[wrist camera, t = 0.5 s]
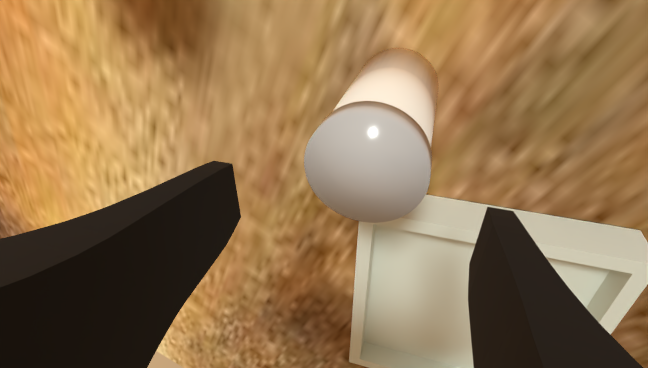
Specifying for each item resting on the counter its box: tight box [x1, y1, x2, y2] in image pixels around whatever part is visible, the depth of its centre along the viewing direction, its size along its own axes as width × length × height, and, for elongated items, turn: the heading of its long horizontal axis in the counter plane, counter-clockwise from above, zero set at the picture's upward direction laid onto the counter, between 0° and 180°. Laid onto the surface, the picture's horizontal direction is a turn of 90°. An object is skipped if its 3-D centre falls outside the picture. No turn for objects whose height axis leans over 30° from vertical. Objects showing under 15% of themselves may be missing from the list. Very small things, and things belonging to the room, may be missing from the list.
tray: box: [349, 194, 648, 368], centre depth 24 cm, size 14×15×2 cm
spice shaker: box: [304, 48, 438, 223], centre depth 15 cm, size 4×4×8 cm
